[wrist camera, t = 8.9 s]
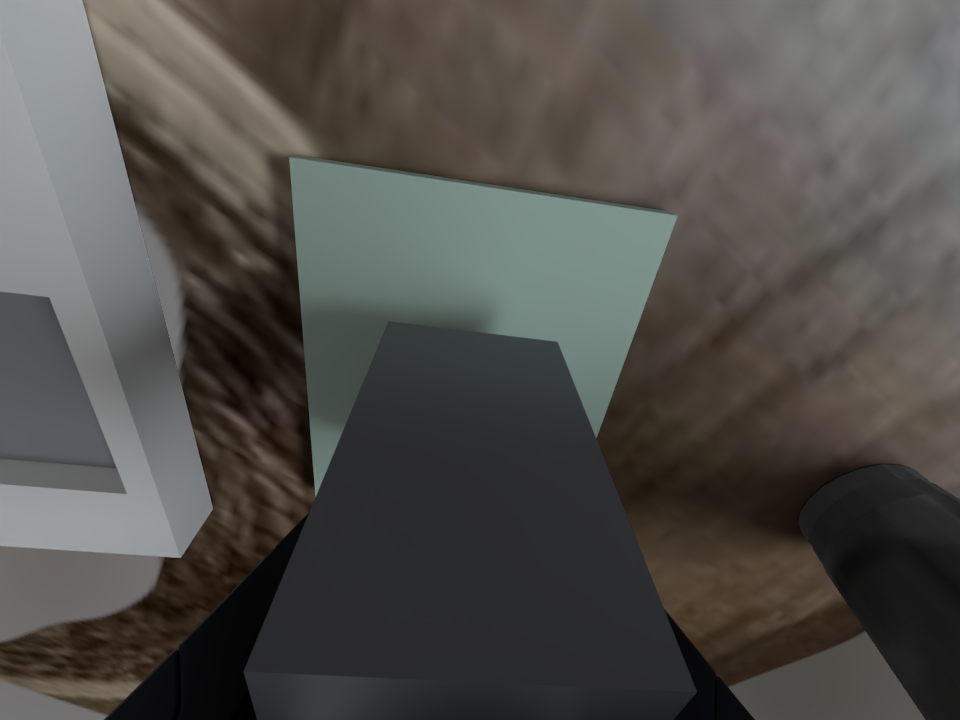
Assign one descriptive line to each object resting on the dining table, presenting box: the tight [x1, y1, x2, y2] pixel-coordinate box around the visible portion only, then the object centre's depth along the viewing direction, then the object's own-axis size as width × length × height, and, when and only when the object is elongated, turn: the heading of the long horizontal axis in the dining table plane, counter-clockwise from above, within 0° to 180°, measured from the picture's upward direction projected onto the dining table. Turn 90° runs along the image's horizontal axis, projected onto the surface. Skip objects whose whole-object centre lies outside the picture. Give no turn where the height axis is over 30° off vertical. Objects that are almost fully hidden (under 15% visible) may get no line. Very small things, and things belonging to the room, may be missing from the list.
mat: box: [289, 155, 677, 497], centre depth 12 cm, size 11×9×1 cm
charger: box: [244, 321, 697, 720], centre depth 8 cm, size 5×4×7 cm
